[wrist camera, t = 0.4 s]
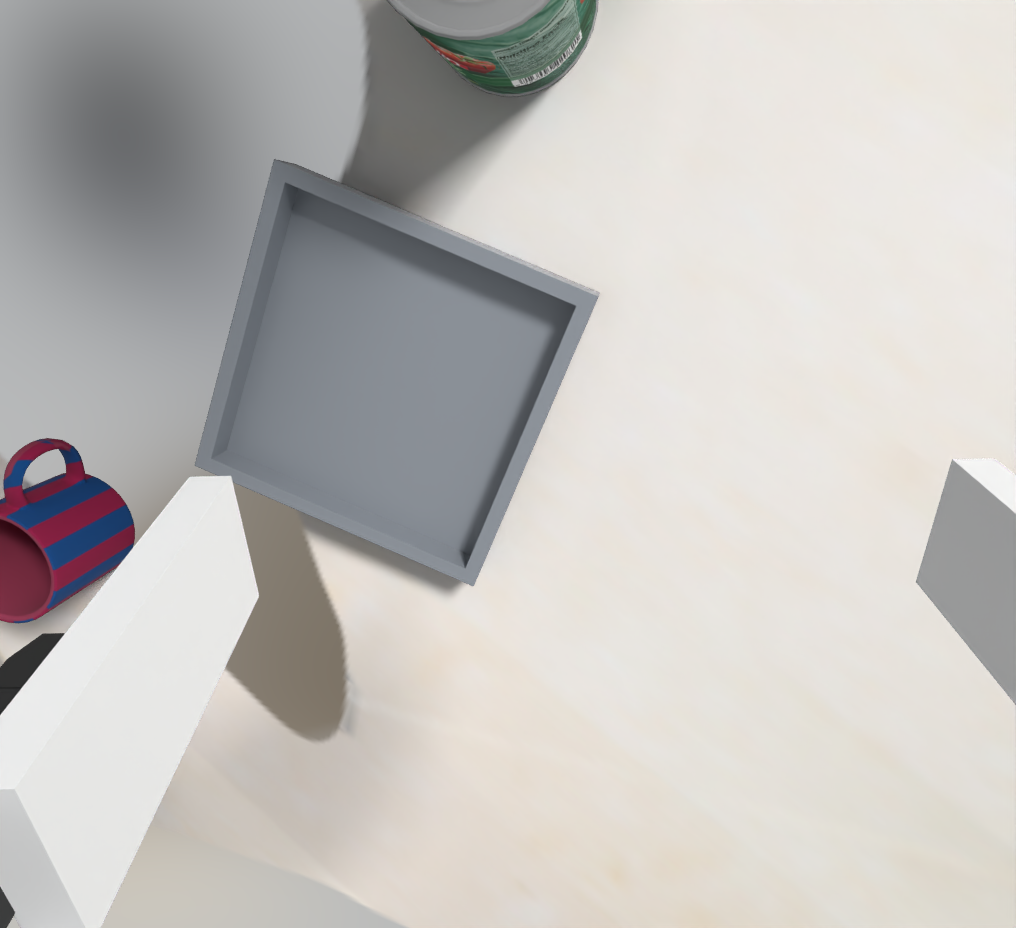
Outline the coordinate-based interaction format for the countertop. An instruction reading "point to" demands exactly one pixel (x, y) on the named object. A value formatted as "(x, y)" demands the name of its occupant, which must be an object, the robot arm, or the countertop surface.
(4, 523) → the mug
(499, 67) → the canned tomato
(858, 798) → the countertop surface
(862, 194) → the countertop surface
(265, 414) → the tray
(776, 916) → the countertop surface
